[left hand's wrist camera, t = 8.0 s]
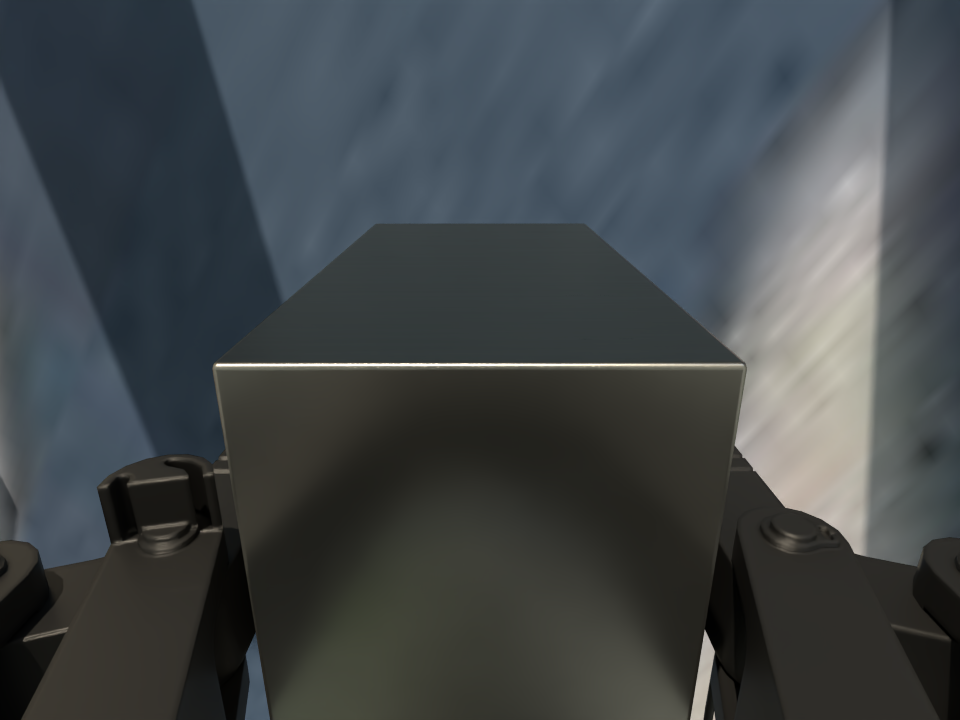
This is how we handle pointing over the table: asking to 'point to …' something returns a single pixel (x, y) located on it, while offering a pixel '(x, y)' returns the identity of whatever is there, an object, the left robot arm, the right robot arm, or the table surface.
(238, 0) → the table surface
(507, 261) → the bar
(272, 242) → the table surface
